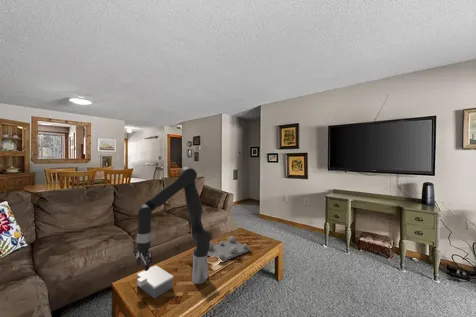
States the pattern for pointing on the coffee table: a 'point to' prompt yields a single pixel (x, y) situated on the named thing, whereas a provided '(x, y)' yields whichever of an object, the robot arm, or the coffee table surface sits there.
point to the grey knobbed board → (227, 249)
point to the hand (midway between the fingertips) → (142, 267)
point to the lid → (153, 277)
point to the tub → (158, 290)
